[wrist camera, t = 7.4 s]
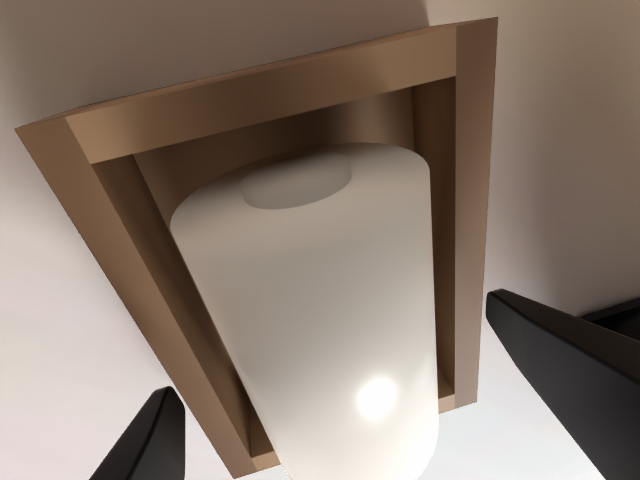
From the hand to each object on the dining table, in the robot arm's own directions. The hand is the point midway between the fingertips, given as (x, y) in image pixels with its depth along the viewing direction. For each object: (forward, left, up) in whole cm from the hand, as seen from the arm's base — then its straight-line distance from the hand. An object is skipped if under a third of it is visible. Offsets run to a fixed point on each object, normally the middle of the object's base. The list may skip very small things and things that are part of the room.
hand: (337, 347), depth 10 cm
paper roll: (0, 0, -1) cm, 1 cm away
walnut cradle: (0, 0, -5) cm, 5 cm away
